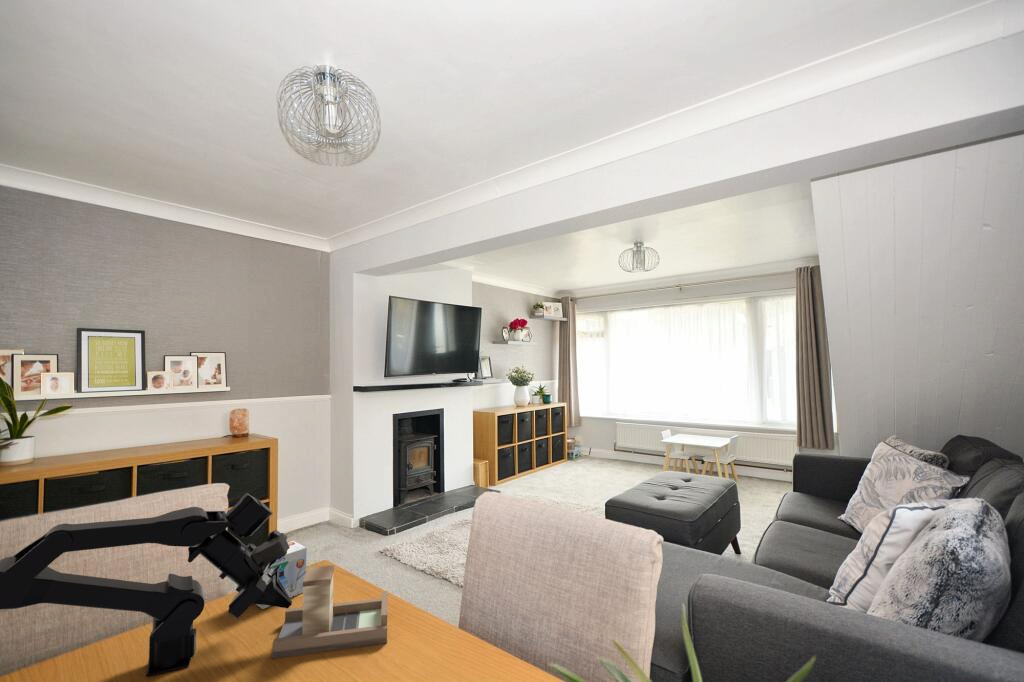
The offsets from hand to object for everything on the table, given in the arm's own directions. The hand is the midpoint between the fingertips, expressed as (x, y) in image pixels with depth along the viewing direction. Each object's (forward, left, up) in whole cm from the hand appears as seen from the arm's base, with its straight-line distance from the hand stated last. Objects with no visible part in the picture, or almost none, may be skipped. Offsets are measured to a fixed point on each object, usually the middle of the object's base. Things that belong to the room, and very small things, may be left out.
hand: (290, 605), depth 96 cm
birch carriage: (+5, -1, -5) cm, 7 cm away
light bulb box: (-2, +19, -7) cm, 21 cm away
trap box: (+9, -2, -7) cm, 11 cm away
